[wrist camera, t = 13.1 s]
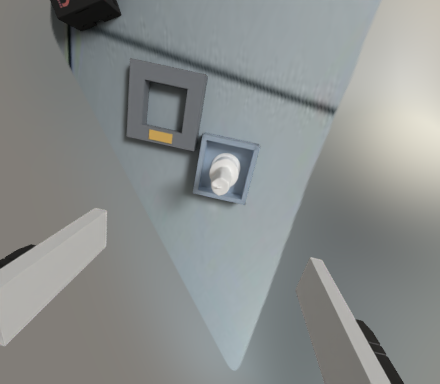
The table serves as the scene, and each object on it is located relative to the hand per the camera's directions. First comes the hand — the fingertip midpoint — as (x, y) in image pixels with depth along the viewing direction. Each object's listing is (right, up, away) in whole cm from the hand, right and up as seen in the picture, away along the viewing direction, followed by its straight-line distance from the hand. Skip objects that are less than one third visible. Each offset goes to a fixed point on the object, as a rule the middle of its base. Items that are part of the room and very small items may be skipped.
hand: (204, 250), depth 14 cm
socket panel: (-8, +18, +23) cm, 30 cm away
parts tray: (+2, +8, +26) cm, 27 cm away
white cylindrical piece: (+2, +8, +25) cm, 27 cm away
